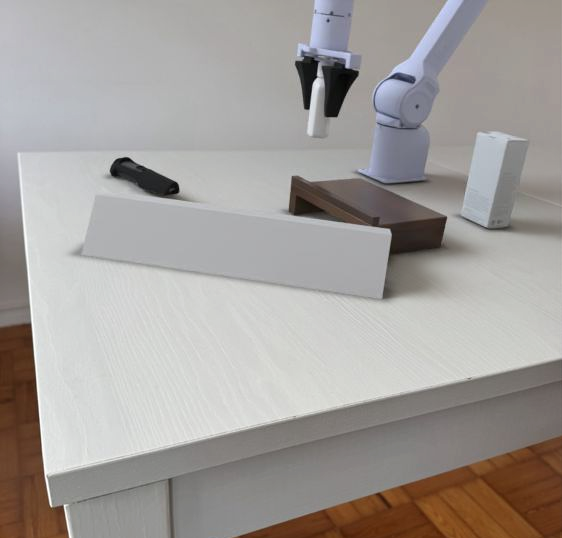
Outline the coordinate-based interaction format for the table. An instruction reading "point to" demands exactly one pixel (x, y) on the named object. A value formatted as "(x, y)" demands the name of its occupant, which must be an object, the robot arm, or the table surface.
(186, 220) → the molding piece
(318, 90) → the eye dropper bottle
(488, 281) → the table surface
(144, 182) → the electric trimmer
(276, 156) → the table surface
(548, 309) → the table surface
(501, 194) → the cosmetic box
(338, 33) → the robot arm
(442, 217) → the shelf
